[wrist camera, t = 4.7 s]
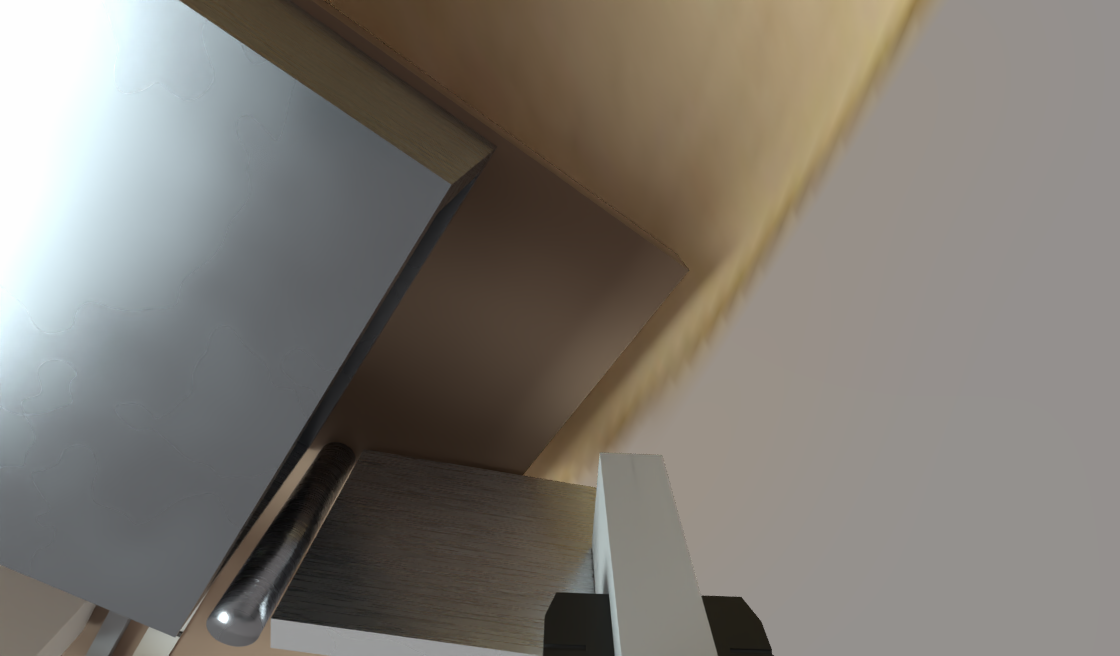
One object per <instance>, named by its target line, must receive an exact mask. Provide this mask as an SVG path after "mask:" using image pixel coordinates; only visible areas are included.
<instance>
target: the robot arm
mask: <svg viewBox="0 0 1120 656" xmlns="http://www.w3.org/2000/svg"><path fill="white" fill-rule="evenodd" d="M592 551H593V566H594V581H595V594H592V593H564V592H556V594H555V596H554V598H553V600H552V602H551V604H550V606H549V608H548V610H547V612H546V614H545V618H544V638H543V656H774V655H772V649H771V646H770V644H769V641H768V638H767V636H766V633H765V630H764V628H763V625H762V622H761V621H760V620H759V618H758V617H757V616H756V614H755V613H754V612H753V611H752V610H751V608H750V607H749V606H748V605H747V603H746V602H745V601H744V600H743V599H742V597H725V596H701V593H700V590H699V586H698V582H697V579H696V575H695V572H694V569H693V564H692V561H691V557H690V554H689V550H688V547H687V543H686V539H685V536H684V532H683V529H682V525H681V521H680V518H679V514H678V510H677V507H676V503H675V500H674V496H673V492H672V489H671V486H670V482H669V478H668V474H667V471H666V467H665V464H664V460H663V456H662V455H651V454H624V453H600V456H599V467H598V479H597V490H596V501H595V512H594V523H593V534H592Z"/></svg>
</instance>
